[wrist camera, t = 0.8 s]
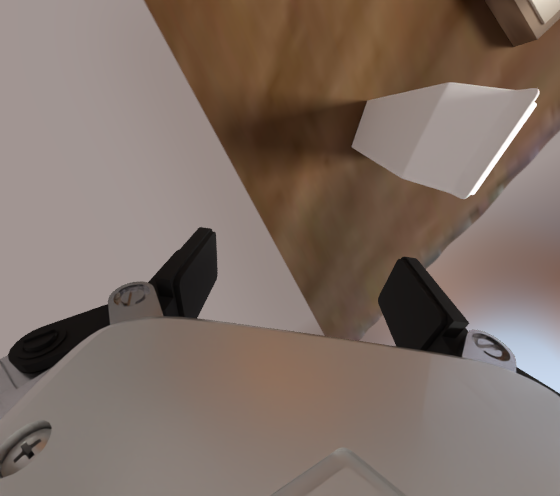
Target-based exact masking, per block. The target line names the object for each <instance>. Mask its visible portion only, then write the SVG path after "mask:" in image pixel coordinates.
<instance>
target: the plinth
mask: <svg viewBox="0 0 560 496" xmlns="http://www.w3.org/2000/svg"><path fill="white" fill-rule="evenodd" d="M484 1H485V2H486V4H487V5H488V7H489V9H490V10H491V12H492V13H493V15H494V16H495V18H496V20H497V21H498V23H499V24H500V26H501V28H502V29H503V31H504V32H505V34H506V36H507V37H508V39H509V40H510V42H511V43H512V45H513V47H515V46H518V45H521V44H524V43H528V42H531V41H534V40H537V39H538V38H539V37H540V36H541V35H543V34H544V33H545V32H546V31H547V30H548V29H549V28H550V27H551V26H552V25H553V24H554V23H555V22H556V21H557V20H558V19H559V18H560V0H484Z"/></svg>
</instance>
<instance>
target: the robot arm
mask: <svg viewBox="0 0 560 496" xmlns="http://www.w3.org/2000/svg"><path fill="white" fill-rule="evenodd" d="M216 279H217V250H216V233H215V232H213V231H212V229H209V228H202V227H200V228H198V230H197V231H196V232H195V233H194V234H193V235H192V236H191V237H190V239H189V240H188V241H187V242H186V243H185V244H184V245H183V247H182V248H181V249H180V250H178V251H176V252H175V253H174V254H173V256H172V257H171V258H170V259H169V260H168V261H167V262H166V263H165V264H164V265H163V267H162V268H161V269H160V270H159V271H158V272H157V273H156V275H154V277H153V278H152V279H151V280H150V281H149V282H148V283H147V282H132V283H128V284H125V285H123V286H121V287H119V288H117V289H116V290H115V291H114V292H113V293H112V294H111V295H110V297H109V300H108V304H107V305H104V306H101V307H98V308H95V309H92V310H90V311H87V312H84V313H81V314H78V315H75V316H72V317H69V318H67V319H63V320H61V321H58V322H55V323H52V324H49V325H46V326H43V327H41V328H38V329H36V330H34V331H32V332H30V333H28V334H27V335H25V336H24V337H22V338H21V339H20V340H19V341H17V342H16V343H15V344H14V346H13V347H12V348H11V349H10V352H9V354H8V355H7V356H6V357H3V358H2V359H0V496H560V394H559V393H558V392H556V391H555V390H553V389H551V388H550V387H548V386H546V385H545V384H543V383H542V382H540V381H538V380H537V379H535V378H533V377H532V376H530V375H529V374H527V373H525V372H524V371H522V370H520V369H519V368H517V367H516V359H515V356H514V354H513V353H512V351H511V350H510V349H509V348H508V347H507V346H506V345H505V344H504V343H502V342H501V341H500V340H499V339H497V338H495V337H494V336H492V335H490V334H488V333H486V332H483V331H479V330H470V331H469V332H468V331H467V329H466V328H465V327H466V326H467V325H468V324H469V323H468V321H467V320H466V319H465V317H464V316H463V315H462V314H461V312H460V311H459V310H458V309H457V308H456V306H455V305H454V304H453V303H452V301H451V300H450V299H449V298H448V296H447V295H446V294H445V293H444V292H443V290H442V289H441V288H440V287H439V285H438V284H437V283H436V282H435V281H434V279H433V278H432V277H431V276H430V274H429V273H428V272H427V271H426V269H425V268H424V267H423V266H422V265H421V263H420V262H419V261H418V260H417V259H416V258H410V257H402V258H401V259H398V260H397V262H396V264H395V266H394V268H393V270H392V272H391V274H390V276H389V278H388V280H387V282H386V284H385V285H384V287H383V289H382V291H381V293H380V295H379V298H378V303H379V306H380V308H381V311H382V313H383V316H384V318H385V320H386V323H387V325H388V327H389V330H390V332H391V335H392V337H393V339H394V342H395V344H396V346H397V347H396V346H389V345H382V344H376V343H369V342H363V341H356V340H349V339H342V338H335V337H329V336H321V335H315V334H307V333H301V332H294V331H286V330H279V329H272V328H265V327H258V326H250V325H243V324H236V323H229V322H220V321H213V320H205V319H197V317H198V315H199V313H200V311H201V309H202V307H203V305H204V303H205V301H206V299H207V297H208V295H209V293H210V291H211V289H212V287H213V285H214V283H215V281H216Z"/></svg>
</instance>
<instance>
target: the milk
mask: <svg viewBox="0 0 560 496" xmlns="http://www.w3.org/2000/svg"><path fill="white" fill-rule="evenodd" d="M538 95H539V90H538V89H536V88H532V89H523V90H509V89H501V88H493V87H485V86H477V85H468V84H460V83H452V82H449V83H444V84H440V85H435V86H431V87H426V88H422V89H417V90H413V91H408V92H404V93H399V94H395V95H390V96H386V97H381V98H377V99H372V100H368V101H367V103H366V106H365V109H364V112H363V115H362V117H361V120H360V123H359V126H358V129H357V132H356V135H355V138H354V141H353V144H352V148H353V149H355V150H357V151H358V152H360V153H362V154H363V155H365V156H366V157H368V158H370V159H371V160H373V161H375V162H376V163H378V164H379V165H381V166H383V167H384V168H386V169H388V170H389V171H391V172H392V173H394V174H396V175H397V176H399V177H401V178H402V179H405V180H409V181H412V182H415V183H418V184H422V185H425V186H428V187H432V188H435V189H438V190H441V191H445V192H448V193H451V194H453V195H455V196H457V197H459V198H461V199H465V198H467V197H469V196H470V195H474V194H475V193H476V192H477V190H478V189H479V187H480V186H481V184H482V183H483V182H484V180H485V179H486V177H487V176H488V174H489V173H490V172H491V170H492V169H493V167H494V166H495V164H496V163H497V162H498V160H499V159H500V157H501V156H502V154H503V153H504V152H505V150H506V149H507V147H508V146H509V144H510V143H511V142H512V140H513V139H514V137H515V136H516V134H517V133H518V132H519V130H520V129H521V127H522V126H523V124H524V123H525V122H526V120H527V119H528V117H529V116H530V114H531V113H532V112H533V110H534V109H535V107H536V106H537V104H536V103H535V102H534V101H535V100H536V98H537V97H538Z"/></svg>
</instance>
